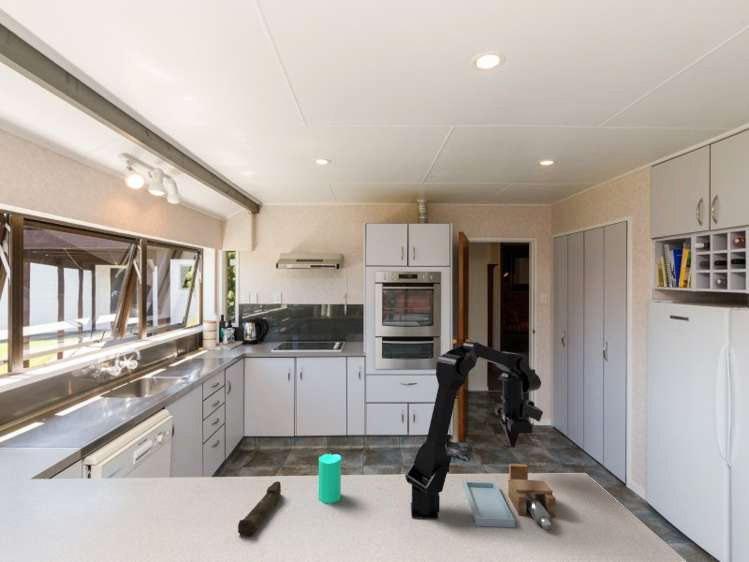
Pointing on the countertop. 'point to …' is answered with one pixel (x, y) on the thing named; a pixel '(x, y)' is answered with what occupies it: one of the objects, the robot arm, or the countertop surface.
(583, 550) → the countertop surface
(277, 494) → the dark brown rod
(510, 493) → the socket block
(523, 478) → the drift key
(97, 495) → the countertop surface
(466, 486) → the tray
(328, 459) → the candle
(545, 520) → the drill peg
